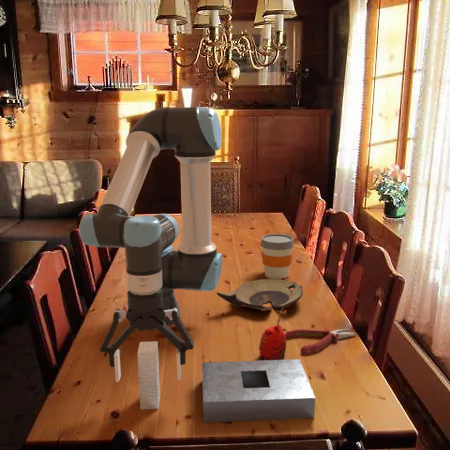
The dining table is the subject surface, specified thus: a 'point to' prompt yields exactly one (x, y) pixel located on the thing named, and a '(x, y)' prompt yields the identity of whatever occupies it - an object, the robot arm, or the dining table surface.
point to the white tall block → (148, 375)
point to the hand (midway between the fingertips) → (148, 377)
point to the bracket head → (256, 391)
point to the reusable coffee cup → (277, 255)
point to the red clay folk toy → (273, 342)
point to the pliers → (326, 336)
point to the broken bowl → (264, 294)
